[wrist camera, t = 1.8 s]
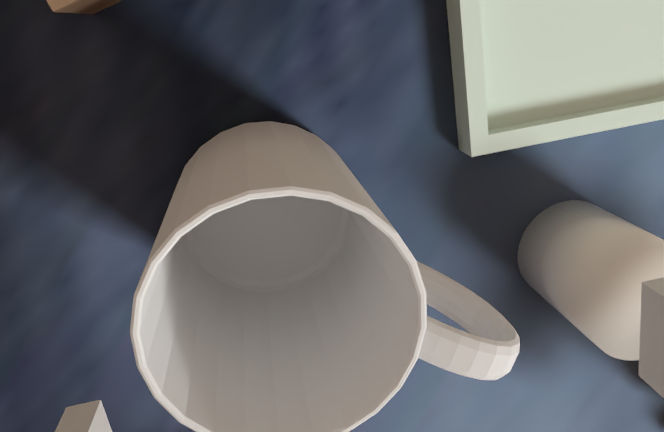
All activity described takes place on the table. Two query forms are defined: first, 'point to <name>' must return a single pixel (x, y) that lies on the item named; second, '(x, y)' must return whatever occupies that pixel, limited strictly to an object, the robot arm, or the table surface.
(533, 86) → the tray
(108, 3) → the walnut cube
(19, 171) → the table surface
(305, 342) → the mug
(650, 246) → the round-ended white cylinder
